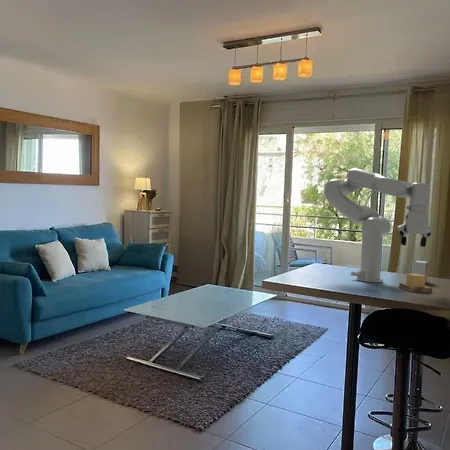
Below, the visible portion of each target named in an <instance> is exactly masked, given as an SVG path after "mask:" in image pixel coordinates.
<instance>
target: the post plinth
mask: <svg viewBox="0 0 450 450" xmlns="http://www.w3.org/2000/svg"><path fill="white" fill-rule="evenodd" d="M398 285H399V286H398V288H400V289H402V290H405V291H407V292H410V293H433V292H432V291H433V288H432V287H430V286H426V285H425V287H413V286H410V285H407V284H406V282H404V283H403V282H400V283H399V284H398Z"/></svg>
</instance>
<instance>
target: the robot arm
mask: <svg viewBox="0 0 450 450" xmlns="http://www.w3.org/2000/svg"><path fill="white" fill-rule="evenodd" d="M362 188H363V189H367V190H370V191H374V192H379V193H381V194H385V195H389V196H392V197H395V198H407V199H408V198H409V204H408V205H407V206H406V210H408V211H407V212H406V213H405V218H404V221H403V224H400V225H398V226H396V229H397V232H398V233H399V235H400V237H401V239H400V244H401V246H406V245H407V240H408V239H407V236H408V234H411V235H412V234H414V235H421V238H420V247H422V248H423V247H424V248H425V247H426V245H427V239H428V238H429V237H430V236H431V235H432V233H433V232H434V230H433V228H431V227H430V226H429V216H428V212H427V205H428V198H429V190H430V186H429V184H428V183H426V182H425V183H424V182H409V181H403V180H398V179H394V178H390V177H385V176H383V175H382V174H380V173H377V172H372V171H370V170H369V171H368V170H365V169H362V168H357V167H356V168H351V169H349V170H348V171H347V173H346V179H340V178H333V179H330V180H329V181H327V182H326V184H325V185H324V195H325V199H326V201H327V202H328V203H329V204H330V205H331V207H332V208H334V209H336V210H337V211H338V212H339V213H341V215H343V216H344V217H346V219H348V220H349V221H350V222H352V223H353V224H355V225H356V224H357V225H359V224H360V225H361V237H362V239H361V241H362V242H361V243H362V244H361V255H360V268H359V270H357V271H351V272H350V276H352V277H354V276H355V277H356V280H358V281H360V282H366V283H382V282H383V281H384V279H383V278H381V277H380V276H381V265H382V264H381V263H382V253H383V240H382V239H383V238H382V237H384V236H386V235H388V234H389V233H390V231H391V229H392V228H391V226H392V225H391V223H390V221H389V220H388V219H387V218H386V217H384V216H383V215H382V214H380V212H378V211H376V210H375V209H374V208H372V207H371V206H368V205H362V204H358V203H356V202H355V201H353V200H352V199H350V197H348V195H351V194H352V193H355V192H357V191H358V190H360V189H362Z"/></svg>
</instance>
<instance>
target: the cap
mask: <svg viewBox="0 0 450 450" xmlns="http://www.w3.org/2000/svg"><path fill="white" fill-rule="evenodd" d="M405 283H406V284H407V285H410V286H413V287H425V286H426V282H425V276H424V275H420V274H413V273H406V282H405Z"/></svg>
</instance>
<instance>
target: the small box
mask: <svg viewBox="0 0 450 450" xmlns="http://www.w3.org/2000/svg"><path fill="white" fill-rule="evenodd" d="M428 267H429V261H427V260H426V261H423V260H416V261H414V262H413V273H412V274H420V275H424V276H425V283H427V279H428V269H429V268H428Z"/></svg>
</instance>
